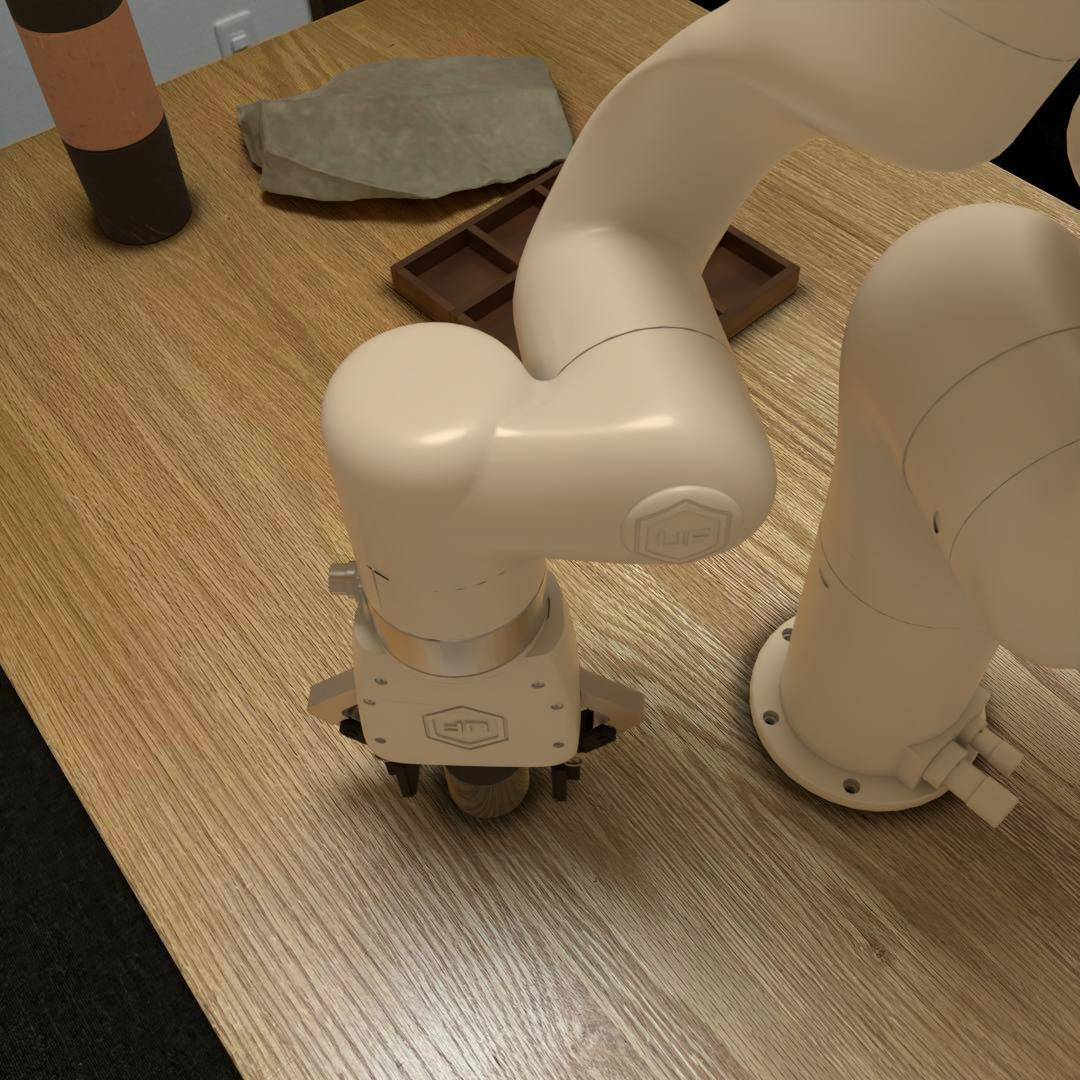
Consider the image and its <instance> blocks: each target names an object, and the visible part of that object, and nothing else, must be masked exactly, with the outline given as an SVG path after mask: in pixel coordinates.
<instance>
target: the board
mask: <svg viewBox="0 0 1080 1080" xmlns="http://www.w3.org/2000/svg"><path fill="white" fill-rule="evenodd" d="M564 163H565V162H561V163H560V164H558V165H557V166H554V167H553V168H552V169H550V170H549V171H546V172H545V173H543V174H542V175H540V176H539V177H537V178H535V179H533V180H531V181H530V182H528V183H526V184H525V185H523V186H522V187H520V188H519V189H517V190H515V191H514V192H512V193H510V194H508V195H507V196H505V197H503V198H502V199H500V200H499V201H496V202H495V203H493V204H492V205H490V206H488V207H487V208H485V209H483V210H482V211H480V212H478V213H477V214H475V215H473V216H472V217H470V218H468V219H466V220H465V221H463V222H461V223H460V224H458V225H457V226H455V227H454V228H452V229H450V230H448V231H446V232H445V233H444V234H442V235H440V236H438V237H437V238H435V239H433V240H431V241H430V242H428V243H427V244H425V245H423V246H422V247H420V248H418V249H417V250H415V251H414V252H412V253H409V255H407V256H405V257H403V258H402V259H400V260H398V261H397V262H395V263H394V264H392V265H390V266H389V268H390V274H391V279H392V284H393V290H394V291H395V292H397V293H398V294H399V295H401V296H402V298H405V299H406V300H407V301H408V302H410V303H411V304H412V305H413V306H415V307H416V308H417V309H419V310H420V311H421V312H422V313H423V314H425V315H426V316H427V317H429V318H430V319H432V320H433V322H442V323H453V324H459V325H464V326H468V327H471V328H474V329H477V330H480V331H482V332H484V333H486V334H488V335H490V336H492V337H493V338H495V339H497V340H498V341H500V342H501V343H502V344H504V345H505V346H506V347H507V348H509V349H510V350H511V351H512V352H513V353H514V354H515V356H516V357H517V358H518V359H519V360H520V361H521V363H522V359H521V354H520V350H519V346H518V341H517V335H516V330H515V325H514V317H513V294H514V287H515V281H516V275H517V271H518V266H519V263H520V260H521V257H522V254H523V251H524V248H525V245H526V243H527V240H528V238H529V235H530V233H531V231H532V228H533V226H534V224H535V221H536V219H537V217H538V215H539V213H540V211H541V209H542V207H543V205H544V203H545V201H546V199H547V197H548V195H549V193H550V191H551V189H552V187H553V185H554V183H555V181H556V179H557V177H558V175H559V173H560V171H561V169H562V167H563V165H564ZM800 272H801V266H799V265H798V264H796V263H794V262H792V261H791V260H789V259H788V258H786V257H785V256H783V255H781V254H779V253H778V252H776V251H774V250H773V249H771V248H770V247H768V246H766V245H764V244H763V243H761V242H760V241H758V240H756V239H755V238H753V237H752V236H750V235H748V234H747V233H745V232H743V231H742V230H740V229H739V228H737V227H735V226H734V225H732V224H730V226H729V227H728V229H727V230H726V232H725V234H724V235H723V237H722V238H721V240H720V242H719V243H718V245H717V246H716V248H715V250H714V251H713V253H712V255H711V256H710V258H709V260H708V262H707V264H706V266H705V268H704V270H703V273H702V278H703V280H704V282H705V285H706V287H707V290H708V293H709V296H710V298H711V301H712V303H713V306H714V308H715V311H716V313H717V316H718V318H719V320H720V323H721V325H722V328H723V330H724V333H725V335H726V337H727V340H728V341H729V340H731V339H732V338H734V337H735V336H736V335H738V334H739V333H740V332H741V331H743V330H744V329H746V328H747V327H748V326H750V325H751V324H753V323H754V322H756V321H757V320H758V319H760V318H761V317H762V316H764V315H765V314H766V313H768V312H769V311H770V310H772V309H773V308H774V307H776V306H777V305H778V304H780V303H782V302H783V301H784V300H785V299H787V298H788V297H790V296H791V295H792V294H794V293H796V292H797V289H798V284H799V279H800ZM522 364H523V363H522Z"/></svg>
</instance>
